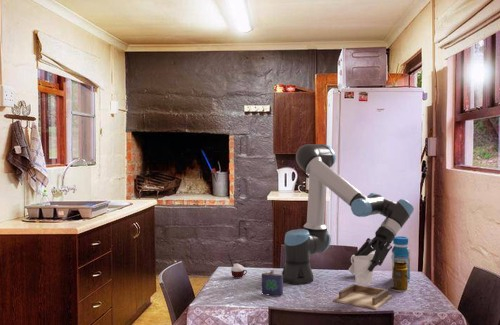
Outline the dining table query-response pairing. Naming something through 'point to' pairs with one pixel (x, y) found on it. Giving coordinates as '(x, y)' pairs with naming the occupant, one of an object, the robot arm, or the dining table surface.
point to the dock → (363, 296)
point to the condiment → (400, 276)
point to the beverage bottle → (401, 252)
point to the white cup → (359, 266)
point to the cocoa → (237, 269)
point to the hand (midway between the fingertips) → (356, 274)
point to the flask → (272, 283)
